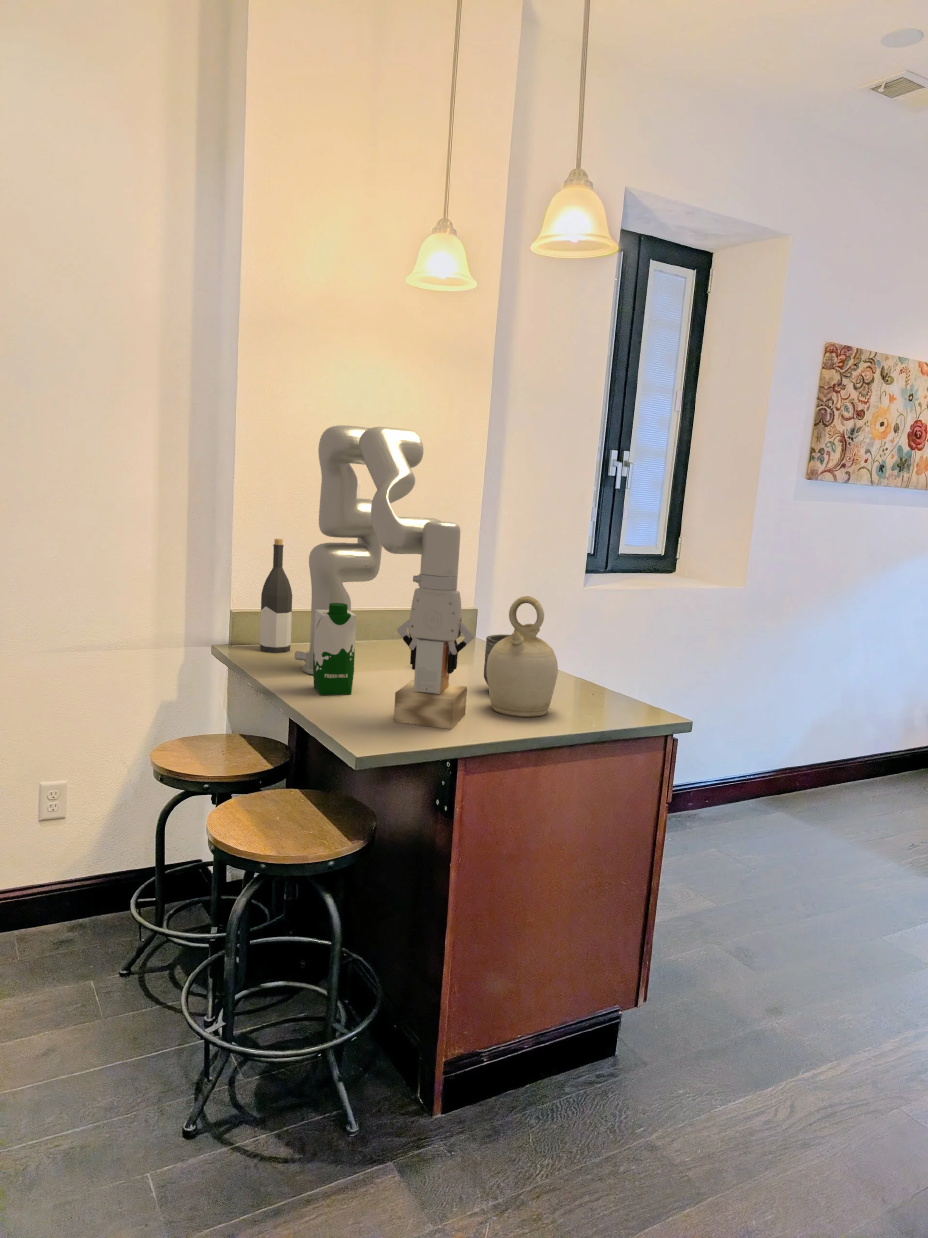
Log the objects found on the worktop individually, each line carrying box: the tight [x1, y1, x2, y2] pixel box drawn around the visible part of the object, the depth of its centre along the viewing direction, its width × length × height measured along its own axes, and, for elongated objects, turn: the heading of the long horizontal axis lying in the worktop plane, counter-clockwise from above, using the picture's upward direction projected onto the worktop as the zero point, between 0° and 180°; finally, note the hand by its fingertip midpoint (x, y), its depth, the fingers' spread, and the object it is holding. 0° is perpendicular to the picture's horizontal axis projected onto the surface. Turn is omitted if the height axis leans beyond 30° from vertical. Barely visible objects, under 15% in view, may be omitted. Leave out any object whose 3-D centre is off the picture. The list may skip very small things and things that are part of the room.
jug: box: [486, 595, 559, 718], centre depth 190 cm, size 15×16×25 cm
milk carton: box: [312, 603, 357, 696], centre depth 196 cm, size 9×9×20 cm
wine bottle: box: [259, 538, 293, 654], centre depth 236 cm, size 8×8×30 cm
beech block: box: [393, 679, 468, 730], centre depth 180 cm, size 12×12×6 cm
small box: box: [414, 639, 450, 694], centre depth 179 cm, size 8×6×10 cm
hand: (433, 669), depth 179 cm, fingers open, 6 cm apart
